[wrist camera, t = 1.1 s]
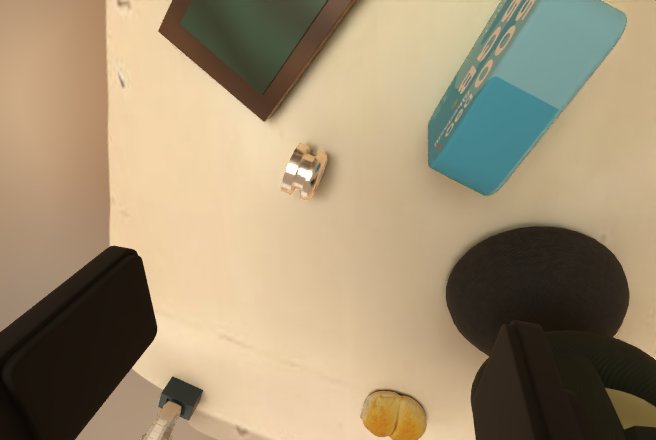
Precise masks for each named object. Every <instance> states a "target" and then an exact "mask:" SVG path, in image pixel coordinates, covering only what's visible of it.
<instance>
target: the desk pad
mask: <svg viewBox="0 0 656 440" xmlns="http://www.w3.org/2000/svg"><path fill="white" fill-rule="evenodd" d="M355 1H356V0H172V2H171V4H170V7H169V9H168V11H167V13H166V15H165V18H164V20H163V22H162V24H161V26H160V28H159V32H160V33H161V34H162V35H163V36H164V37H165V38H167V39H168V40H169V41H170V42H171V43H172V44H174V45H175V46H176V47H177V48H178V49H179V50H181V51H182V52H183V53H184V54H185V55H186V56H188V57H189V58H190V59H191V60H192V61H194V62H195V63H196V64H197V65H198V66H199V67H201V68H202V69H203V70H204V71H205V72H206V73H208V74H209V75H210V76H211V77H212V78H213V79H215V80H216V81H217V82H218V83H219V84H220V85H222V86H223V87H224V88H225V89H226V90H227V91H229V92H230V93H231V94H232V95H233V96H235V97H236V98H237V99H238V100H239V101H240V102H242V103H243V104H244V105H245V106H246V107H247V108H249V109H250V110H251V111H252V112H253V113H254V114H256V115H257V116H258V117H259V118H260V119H261V120H263V121H264V122H265V121H266V120H267V119H269V118H270V117H271V116H272V115H273V114H274V112H275V111H276V109H277V108H278V107H279V105H280V104H281V103H282V101H283V100H284V99H285V97H286V96H287V94H288V93H289V92H290V90H291V89H292V88H293V86H294V85H295V83H296V82H297V81H298V79H299V78H300V77H301V75H302V74H303V73H304V71H305V70H306V68H307V67H308V66H309V64H310V63H311V62H312V60H313V59H314V57H315V56H316V55H317V53H318V52H319V51H320V49H321V48H322V46H323V45H324V44H325V42H326V41H327V40H328V38H329V37H330V36H331V34H332V33H333V31H334V30H335V29H336V27H337V26H338V25H339V23H340V22H341V20H342V19H343V18H344V16H345V15H346V14H347V12H348V11H349V10H350V8H351V7H352V5H353V4H354V3H355Z"/></svg>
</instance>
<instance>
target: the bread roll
mask: <svg viewBox="0 0 656 440" xmlns="http://www.w3.org/2000/svg"><path fill="white" fill-rule="evenodd" d="M360 418H361V419H362V421H363V424H364V426H365V427H366V428H367V429H368V430H369V431H370V432H371V433H373V434H374V435H376V436H379V437H386V436H389V437H390V438H392V439H393V440H418V439H419V438H420V437H421V436H422V435H423V434H424V432H425V430H426V417H425V412H424V410H423V409H422V407H421V406H420V404H419V403H418V402H417V401H415V400H414V399H412V398H410V397H408V396H404V395H403V396H400V395H398V394H397V393H395V392H390V391H378V392H374V393H372V394H370V395H369V396H368V398H367V399H366V401H365V403H364V405H363V408H362V412H361V417H360Z"/></svg>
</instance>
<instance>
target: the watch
mask: <svg viewBox="0 0 656 440" xmlns="http://www.w3.org/2000/svg"><path fill="white" fill-rule="evenodd" d="M202 391H203V390H201V389H199V388H196V387H194V386H192V385H190V384H188V383H185V382H183V381H181V380H179V379H177V378H174V377H172V378H171V380H170V381H169V383H168V384H167V386H166V387H165V389H164V390H163V392H162V393H161V398H160V402H159V407H160V408H162V409H161V411H160V412H159V414H158V415H157V418H156V420H155V422H154V423H153V425H152V427H151V428H150V430H149V432H148V433H146V434H144V435H143V436H142V437H141V439H140V440H172V435H171V433H172V431H173V429H174V427H175V425H176V423H177V420H178V418H179V416H180V417H182V418H184V419H186V420H189V419H190V418H191V416H192V414H193V412H194V410H195V409H196V407H197V405H198V403H199V400H200V397H201V394H202ZM168 426H169V427H168Z"/></svg>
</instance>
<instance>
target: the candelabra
mask: <svg viewBox="0 0 656 440" xmlns="http://www.w3.org/2000/svg"><path fill="white" fill-rule="evenodd" d="M446 300H447V306H448V309H449V311H450V314H451V317H452V319H453V322H454V324H455V325H456V327H457V329H458V330H459V332H460V333H461V334H462V335H463V336H464V337H465V338H466V339H467V340H468V341H469V342H471V343H472V344H473V345H474V346H475V347H477V348H478V349H479V350H480V351H482V352H484V353H485V354H487V355H489V356H490V354H491V351H492V349H493V346H494V344H495V341H496V338H497V336H498V333H499V331H500V328H501V326H502V325H503V324H505V325H509V324H510V323H511V321H512V320H518V321H523V322H529V323H534V324H539V325H540V326H542V328H543V331H544V333H545V336H546V339H547V341H548V344H549V347H550V350H551V352H552V355H553V358H554V361H555V363H556V366H557V369H558V371H559V374H560V377H561V380H562V382H563V385H564V388H565V389H566V390H570V391H573V392H574V393H575V394H576V395H577V397H578V399H579V401H580V403H581V405H582V408H583V410H584V413H585V415H586V418H587V420H588V423H589V425H590V428H591V431H592V433H593V436H594V438H595V440H656V360H655V359H654V358H653V357H651V356H650V355H648V354H646V353H645V352H643V351H642V350H640V349H638V348H637V347H635V346H633V345H630V344H628V343H626V342H623V341H621V340H619V339H616V338H613V336H614V335H615V334H616V333H617V331H618V329H619V328H620V326H621V324H622V322H623V320H624V317H625V315H626V312H627V309H628V306H629V288H628V283H627V280H626V276H625V273H624V271H623V268H622V266H621V264H620V263H619V261H618V260H617V258H616V257H615V255H614V254H613V253H612V252H611V251H610V250H608V249H607V248H606V247H605V246H604V245H602V244H601V243H599V242H598V241H596V240H595V239H593V238H591V237H588V236H586V235H584V234H582V233H579V232H575V231H571V230H568V229H563V228H555V227H528V228H519V229H515V230H511V231H506V232H503V233H500V234H498V235H495V236H492V237H490V238H488V239H486V240H484V241H483V242H481V243H479V244H477V245H476V246H475V247H473V248H472V249H470V250H469V251H468V252H467V253H466V254H465V255H464V256H463V257H462V258H461V259H460V260H459V261H458V263H457V264H456V265H455V267H454V268H453V270H452V272H451V274H450V276H449V279H448V283H447V287H446ZM488 359H489V358H488ZM488 359H487V360H486V361H485V362H484V363H483V364H482V366H481V367H480V369H479V371H478V372H477V374H476V376H475V379H474V382H473V385H472V390H471V406H473V398H474V394H475V392H476V389H477V387H478V384H479V382H480V379H481V377H482V374H483V371H484V369H485V366H486V364H487V361H488ZM472 412H473V409H472Z"/></svg>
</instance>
